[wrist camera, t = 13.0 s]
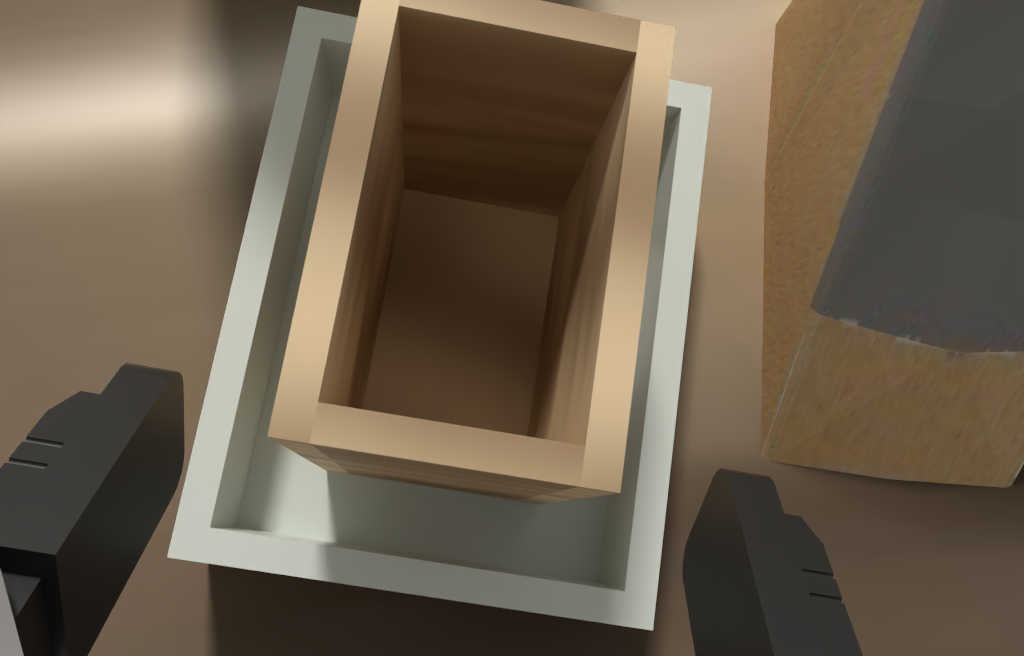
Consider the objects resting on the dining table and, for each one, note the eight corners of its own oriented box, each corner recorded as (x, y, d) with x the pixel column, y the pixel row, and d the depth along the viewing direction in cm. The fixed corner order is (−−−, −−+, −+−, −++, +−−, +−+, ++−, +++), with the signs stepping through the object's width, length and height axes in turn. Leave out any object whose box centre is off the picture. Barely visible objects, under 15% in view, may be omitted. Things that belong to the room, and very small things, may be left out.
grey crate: (615, 613, 25) (652, 630, 21) (207, 551, 24) (167, 556, 20) (671, 147, 28) (712, 87, 24) (314, 78, 27) (298, 6, 24)
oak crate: (539, 504, 25) (619, 492, 15) (326, 471, 24) (267, 436, 14) (581, 207, 27) (675, 27, 17) (385, 172, 26) (368, -35, 16)
